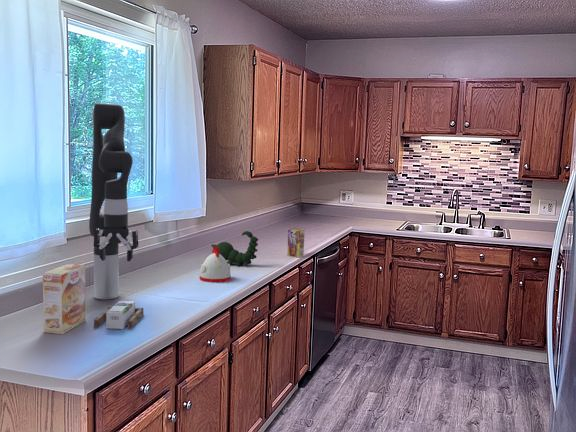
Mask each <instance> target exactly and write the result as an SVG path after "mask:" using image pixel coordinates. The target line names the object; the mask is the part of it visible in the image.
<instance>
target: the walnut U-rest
mask: <svg viewBox="0 0 576 432" xmlns="http://www.w3.org/2000/svg"><path fill="white" fill-rule="evenodd" d="M112 307H113V306H108V307H107V308H106V309H105V310H103V311H102V312H101V313H100V314H99V315H98V316H97V317H95V319H93V328H99V327H100V326H101V325H102V324H103V323H104V322H105V321H106V312H108V311H109V310H110V309H111V308H112ZM143 316H144V308H143V307H135V314H134V315H133V316H132V317H131V318H130V319H129V320H128V324H127V329H129V330H132V329H133V328H134V326H136V324H137V323H138V322H139V321H140V320H141V319H142V317H143Z"/></svg>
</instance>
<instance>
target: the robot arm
mask: <svg viewBox="0 0 576 432" xmlns="http://www.w3.org/2000/svg"><path fill="white" fill-rule="evenodd" d="M92 108H93V109H92V142H93V143H92V163H91V201H90V213H89V221H88V222H89V223H88V224H89V225H88V228H89V229H88V230H89V233H90V236H92V237H93V293H94V294H93V297H94V298H95V299H97V300H114V299H117V298H119V295H120V293H119V289H120V288H119V285H120V284H119V283H120V281H119V278H120V277H119V272H120V271H119V245H120V244H121V243H122V245H123V246H125V248H126V250H127V251H126V261H127V262H131V260H133V258H134V254H133V253H134V250H135V249H137V248H138V247H139V234H138V233H139V231H138V230H137V229H134V230H129V220H128V219H129V215H128V214H129V213H128V212H129V211H128V209H129V207H128V182H129V181H128V180H129V176H130V173H131V170H132V167H133V157H132V155H131V153H130V152H128V151H126V147H125V140H124V139H125V138H124V137H125V127H126V125H125V124H126V121H125V119H126V116H125V109H124V107H123V106H122V105H121V104H115V103H102V102H96V103H94V105H93V107H92ZM103 130H107V131H106V132H105V134H104V135H103V132H102V131H103ZM118 174H120V176H119V177H118ZM102 206H103V212H101V209H102ZM129 235H130V237H131V239H132V243H131V242H130V239H128V236H129ZM101 237H105V238H104V240H103V241H101ZM100 242H101V243H100Z"/></svg>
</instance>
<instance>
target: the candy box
mask: <svg viewBox="0 0 576 432" xmlns="http://www.w3.org/2000/svg"><path fill="white" fill-rule="evenodd" d="M305 234H306V233H305V229H303V228H297V227H289V228H287V250H286V251H287V254H286V255H287V256H289V255H290V256H289V257H294V256H295V257H294V258H304V255H305V253H304V252H305Z"/></svg>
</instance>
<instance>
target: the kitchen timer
mask: <svg viewBox="0 0 576 432" xmlns="http://www.w3.org/2000/svg"><path fill="white" fill-rule="evenodd" d="M231 276H232V275H231V266H230V264H228V261H227V260H225V259H224V257H223V256H221V255H220V254H219V251H218V248H217V247H216V246H214V248H213V247H212V250H211V254H210V255H208V256H207V257H206V259H205V260H204V261H203V263H201V265H200V272H199V281H202V282H203V283H204V282H205V283H214V282H218V283H226V282H229V281H230V280H232V279H231V278H232V277H231ZM225 281H226V282H225Z"/></svg>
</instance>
